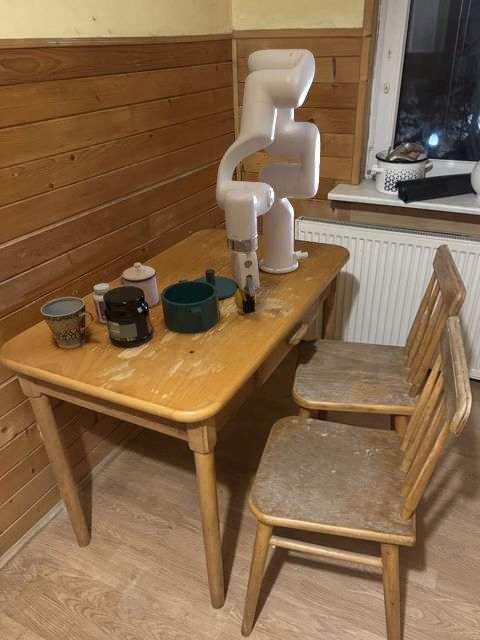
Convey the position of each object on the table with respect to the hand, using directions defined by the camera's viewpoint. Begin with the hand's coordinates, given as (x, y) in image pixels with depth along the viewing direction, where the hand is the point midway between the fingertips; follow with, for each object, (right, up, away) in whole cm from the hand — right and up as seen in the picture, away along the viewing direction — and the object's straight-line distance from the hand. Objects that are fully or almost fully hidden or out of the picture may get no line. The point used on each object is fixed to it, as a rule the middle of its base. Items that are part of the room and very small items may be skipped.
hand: (245, 306), depth 134 cm
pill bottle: (-36, -4, 0) cm, 37 cm away
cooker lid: (-10, +6, +14) cm, 18 cm away
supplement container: (-28, -9, -8) cm, 31 cm away
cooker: (-14, -4, -1) cm, 15 cm away
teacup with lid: (-30, +2, +9) cm, 32 cm away
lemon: (0, -1, +1) cm, 2 cm away
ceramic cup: (-41, -10, -10) cm, 43 cm away
